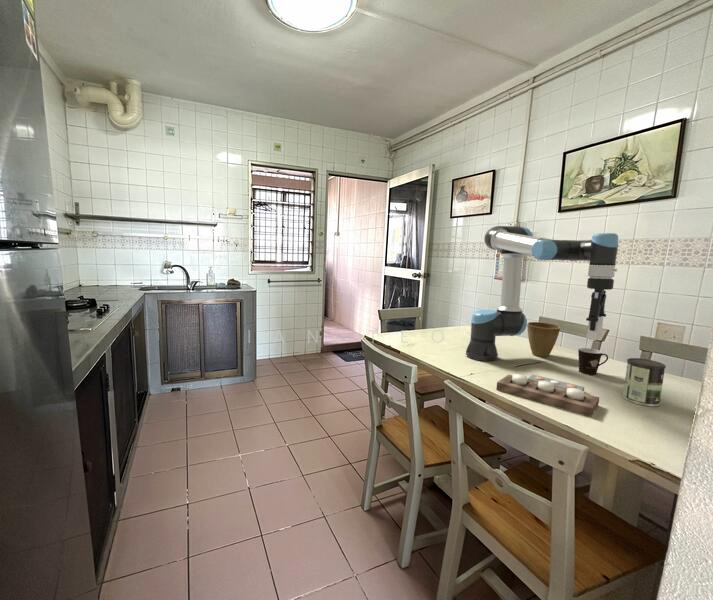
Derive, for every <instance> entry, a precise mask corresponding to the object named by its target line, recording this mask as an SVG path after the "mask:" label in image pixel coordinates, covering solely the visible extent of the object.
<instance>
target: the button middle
mask: <svg viewBox="0 0 713 600" xmlns="http://www.w3.org/2000/svg"><path fill="white" fill-rule="evenodd" d="M538 390H540V391H543V392H547V393H552V392H554V384H553V383H552V382H548V381H538Z"/></svg>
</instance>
